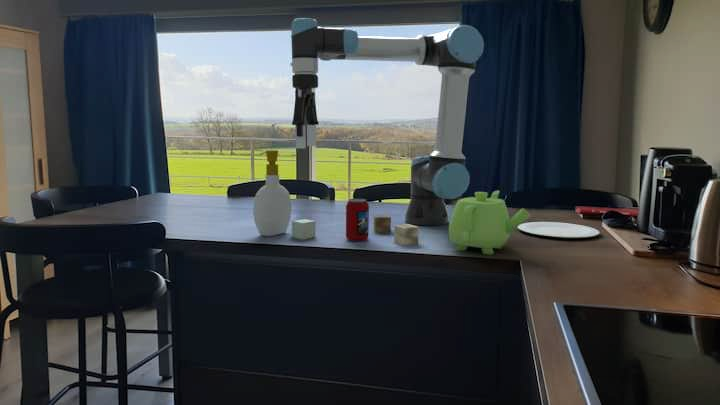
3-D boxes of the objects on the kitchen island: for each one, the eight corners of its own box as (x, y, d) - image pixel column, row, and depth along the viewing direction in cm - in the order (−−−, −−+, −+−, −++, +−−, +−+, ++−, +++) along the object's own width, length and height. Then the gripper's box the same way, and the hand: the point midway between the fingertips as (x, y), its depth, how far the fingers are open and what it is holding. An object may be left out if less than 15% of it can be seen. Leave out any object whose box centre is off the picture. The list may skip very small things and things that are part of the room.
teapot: (516, 263, 134) (519, 200, 132) (436, 252, 145) (438, 194, 143) (540, 245, 155) (544, 190, 153) (469, 236, 166) (471, 185, 164)
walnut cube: (388, 229, 176) (388, 214, 175) (390, 232, 171) (390, 217, 170) (373, 229, 175) (373, 214, 175) (375, 232, 171) (375, 217, 170)
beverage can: (366, 242, 156) (366, 201, 154) (343, 241, 157) (343, 200, 156) (370, 237, 163) (370, 198, 161) (348, 236, 164) (348, 197, 162)
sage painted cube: (305, 234, 166) (305, 219, 166) (315, 237, 163) (315, 221, 162) (292, 237, 163) (292, 220, 162) (302, 239, 160) (302, 223, 159)
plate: (600, 230, 179) (600, 225, 179) (598, 245, 157) (599, 239, 157) (523, 224, 190) (523, 219, 189) (511, 237, 167) (511, 231, 167)
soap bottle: (277, 228, 175) (276, 148, 171) (298, 232, 170) (297, 149, 166) (244, 236, 163) (242, 150, 159) (266, 240, 158) (264, 151, 154)
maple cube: (408, 240, 160) (408, 224, 159) (418, 243, 156) (418, 226, 155) (394, 242, 157) (394, 225, 157) (403, 245, 153) (404, 228, 152)
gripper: (303, 77, 169) (304, 145, 173) (280, 70, 145) (282, 149, 148) (326, 77, 168) (327, 145, 172) (307, 70, 144) (308, 149, 147)
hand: (306, 147), depth 160 cm, fingers open, 13 cm apart
